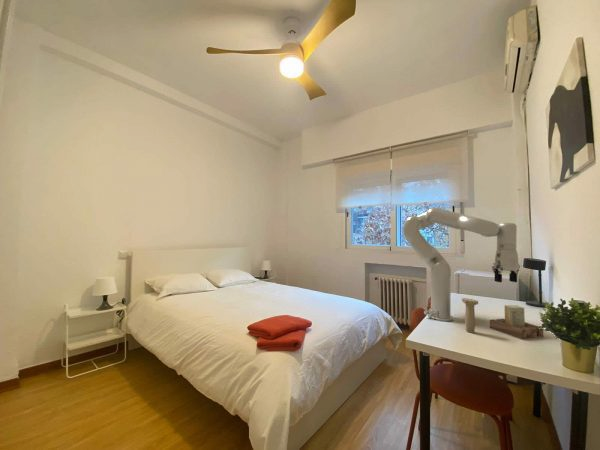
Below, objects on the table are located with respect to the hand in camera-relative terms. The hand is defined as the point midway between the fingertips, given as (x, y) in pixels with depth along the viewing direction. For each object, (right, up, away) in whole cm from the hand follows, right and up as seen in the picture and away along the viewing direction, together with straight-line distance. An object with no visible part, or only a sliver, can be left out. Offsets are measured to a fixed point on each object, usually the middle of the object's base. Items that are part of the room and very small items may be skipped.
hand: (505, 281), depth 124 cm
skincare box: (-1, -23, -6) cm, 24 cm away
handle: (-23, -22, -7) cm, 33 cm away
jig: (0, -23, -6) cm, 23 cm away
